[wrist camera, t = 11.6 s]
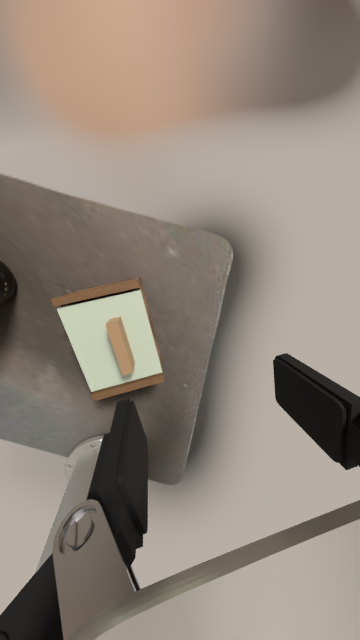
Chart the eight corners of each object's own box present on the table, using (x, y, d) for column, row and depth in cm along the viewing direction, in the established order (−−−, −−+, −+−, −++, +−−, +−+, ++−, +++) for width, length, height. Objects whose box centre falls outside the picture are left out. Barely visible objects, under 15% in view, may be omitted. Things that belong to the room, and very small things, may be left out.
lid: (161, 369, 24) (164, 383, 21) (93, 388, 23) (85, 405, 20) (140, 289, 21) (139, 292, 18) (60, 307, 20) (44, 313, 17)
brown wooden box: (160, 355, 31) (164, 381, 24) (106, 370, 30) (93, 401, 23) (140, 277, 27) (137, 280, 20) (77, 291, 26) (50, 299, 19)
